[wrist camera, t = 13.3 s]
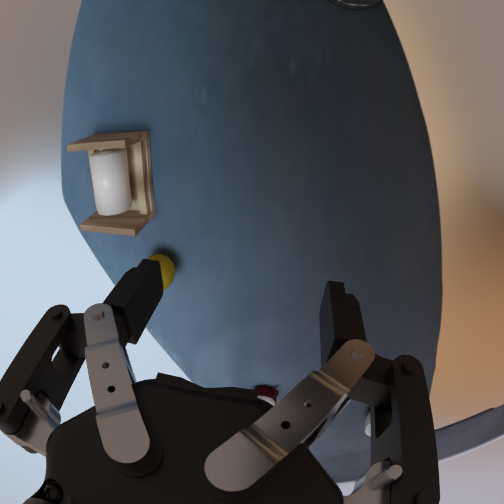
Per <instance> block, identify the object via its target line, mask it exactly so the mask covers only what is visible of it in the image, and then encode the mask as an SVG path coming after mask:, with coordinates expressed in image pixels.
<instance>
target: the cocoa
mask: <svg viewBox="0 0 504 504" xmlns="http://www.w3.org/2000/svg"><path fill="white" fill-rule="evenodd" d="M254 390H258V395H257V398H260V399H263V400H265V401H267V402H269V403H270V404H272V405H273V406H275V404H276V397H277V395H278V391H277V390H276V389H273V388H269V387H266V386H260V387H257V388H256V389H254ZM273 390H274V391H275V392H276V394H275V392H274V391H273Z"/></svg>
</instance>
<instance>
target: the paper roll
mask: <svg viewBox="0 0 504 504" xmlns="http://www.w3.org/2000/svg"><path fill="white" fill-rule="evenodd" d="M89 160H90V168H91V175H92V182H93V189H94V195H95V201H96V207H97V212H98V213H99V214H100V215H106V216H109V215H116V214H120V213H123V212H125V211H127V210H129V209H130V208H131V207H132V197H131V189H130V180H129V170H128V159H127V149H126V148H115V149H104V150H100V151H97V152H94V153H92V154H90V155H89Z"/></svg>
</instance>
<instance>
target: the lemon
mask: <svg viewBox="0 0 504 504" xmlns="http://www.w3.org/2000/svg"><path fill="white" fill-rule="evenodd" d="M148 259H151V260H158V261H159V262H160V266H161V273H162V279H163V286H164V289H163V291H164V290H165V289H167V288H168V287H169V286H170V284H171V283H172V281H173V279H174V276H175V266H174V264H173V262H172V261H171V259H170V258H169V257H167V256H165V255H162V254H156V255H153V256H150V257H149V258H148Z"/></svg>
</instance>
